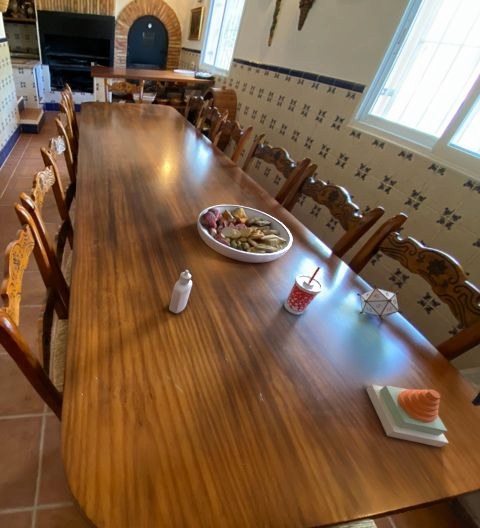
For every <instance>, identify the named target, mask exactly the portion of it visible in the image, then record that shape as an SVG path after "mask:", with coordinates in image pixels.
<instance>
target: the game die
mask: <svg viewBox="0 0 480 528" xmlns="http://www.w3.org/2000/svg"><path fill="white" fill-rule="evenodd" d="M373 287H374V288H372V289H370V290H368V291H366V292H364V293H361V294H360V293H356V295H357V296H358V297H359V298H360V304H361V311H359V315H362V314H363V313H364V314H366V315H367V314H368V315H370V316H373V317H377V318H379V319H380V321H382V322H383V321H384V318H386V317H388V316H391V315H393V314H394V315H395V314H397V313H398V314H404V312H403V311H402V310H400V308H399V303H398V298H397V297H398V296H397V295H398V294H400V291H396V292H393V291H389V290H386V289H382V288H379V287H378V285H376V284H374V286H373Z"/></svg>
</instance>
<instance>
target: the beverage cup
mask: <svg viewBox="0 0 480 528" xmlns="http://www.w3.org/2000/svg"><path fill="white" fill-rule="evenodd" d="M320 269H321V266H317V268H316V269H315V271H314V272H313V274H312V276H311V275H309V274H298V275H297V276H296V277H295V279H294V283H293V284H292V285H293V286H292V287H291V289H290V291H289V294H288V296H287V298H286V300H285V302H284V305H283V306H284V308H285V309H286V310H287V311H288V312H289V313H290V314H293V315H302V314H303V313H304V312H305V310H306V309H307V308H308V307H309V305H310V304H311V303H312V302H313V301H314V299H315V298H316V297H317V296H318V294H320V293H321V292H322V291H323V290H324V285H323V283H322V282H321V281H320V280H319V279H317V278H316V275H317V274H318V273H319V271H320Z"/></svg>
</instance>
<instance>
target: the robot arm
mask: <svg viewBox="0 0 480 528" xmlns="http://www.w3.org/2000/svg"><path fill="white" fill-rule="evenodd" d="M471 404H472V405H473V406H474V407H478V406H480V390H479V391H478V393H477V395H476V396H475V397H474V398H473V399H472V400H471Z"/></svg>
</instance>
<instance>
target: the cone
mask: <svg viewBox="0 0 480 528" xmlns="http://www.w3.org/2000/svg"><path fill="white" fill-rule="evenodd" d="M441 397H442V396H441V394H440V393H439V392H438V391H436V390H435V389H432V388H431V389H407V390H403V391H402V392H400V393H399V394H398V396H397V399H398V402H399V404H400V406H401V407H402V409H403V410H404V411H405V412H406V413H407V414H409V415H410V416H411V417H413V418H414V419H416V420H418V421H421V422H424V423H430V422H432V421H434V420H436V419H437V417H438V416H439V411H440V410H439V409H440V403H441V400H440V399H441Z"/></svg>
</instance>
